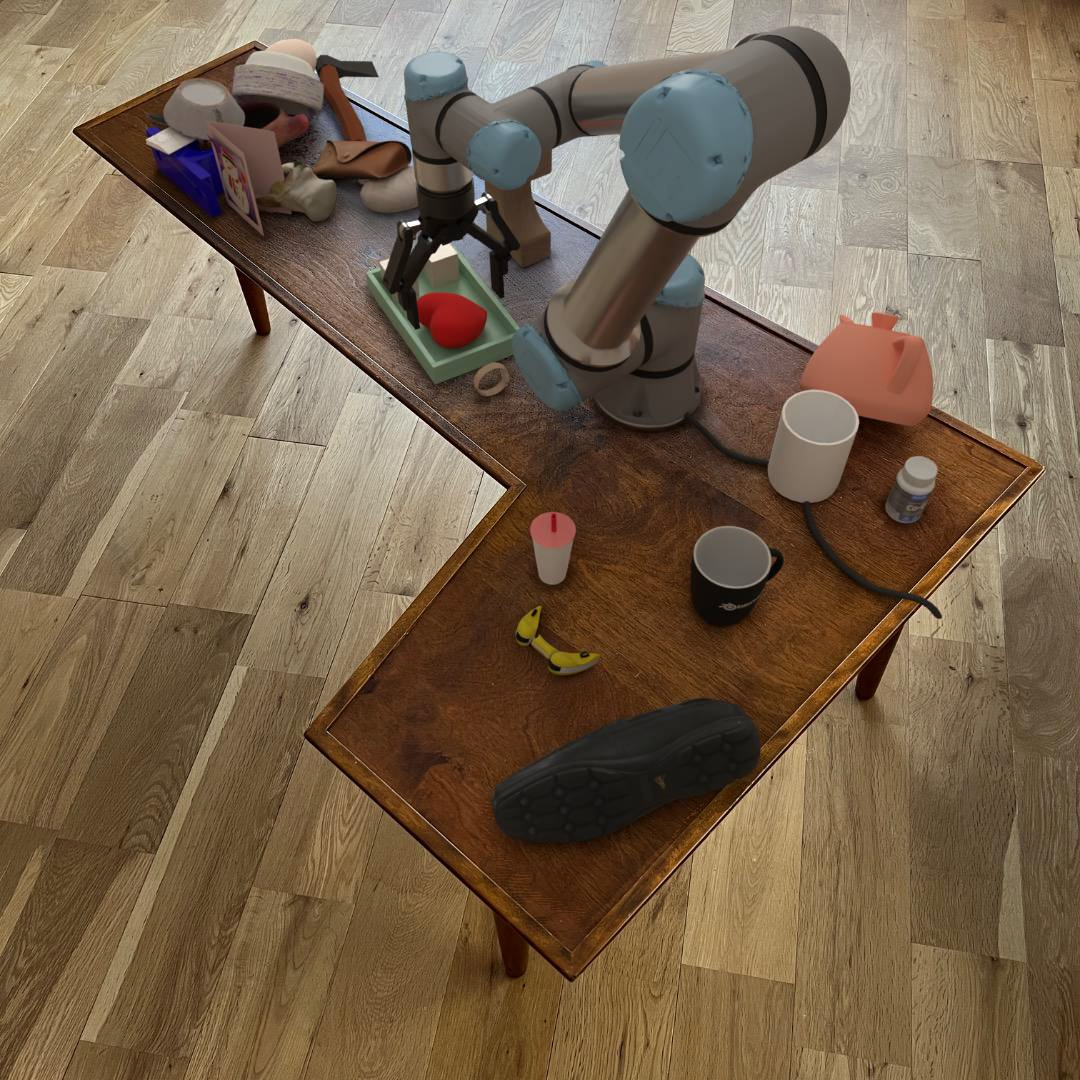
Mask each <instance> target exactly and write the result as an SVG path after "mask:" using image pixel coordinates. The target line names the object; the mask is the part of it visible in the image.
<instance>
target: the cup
mask: <svg viewBox="0 0 1080 1080" xmlns="http://www.w3.org/2000/svg"><path fill="white" fill-rule="evenodd" d="M529 532H530V536H531V538H532V545H533V550H534V556H535V561H536V568H537V575H538V578H539V579H540V581H541V582H543V583H544V584H547V585H553V586H554V585H559V584H560V583H562V582H563V581H564V580H565V578H566V576H567V573H568V567H569V563H570V558H571V552H572V548H573V544H574V543H573V542H574V539H575V536H576V533H577V527H576V524H575V521H574V520H573V519H572V518H570V516H568V515H567V514H564V513H562V512H558V511H548V512H544V513H542V514H539V515H537V517H535V518H534V519H533V520H532V521H531V524H530V527H529Z"/></svg>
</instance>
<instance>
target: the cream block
mask: <svg viewBox="0 0 1080 1080" xmlns="http://www.w3.org/2000/svg"><path fill="white" fill-rule="evenodd" d="M423 275H424V276H425V278H426V279H427V280H428V282H429V283H430V284H431V286H432V287H433V288H434V289H435V288H438V287H441V286H444V285H447V284H450V283H452V282H455V281H458V280H460V278H459V264H458V253H457V252H456V251H455V250H454V248H453V247H452V246H451V245H450V243H449V244H447V245H444V246H443V245H442V244H441V245H440V247H439V248H438V250H437V251H436V253H435V254H432V255H431V257H430V258H429V260H428V262H427V263H426V265H425V266H424V268H423Z"/></svg>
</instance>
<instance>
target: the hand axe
mask: <svg viewBox="0 0 1080 1080" xmlns="http://www.w3.org/2000/svg"><path fill="white" fill-rule="evenodd" d="M316 60H317V62H316V68H315V71H316V74H317V77H318V78H319V81H320V82H321V83H322V84H323V85H324V94H323V99H324V100H325V102H326V103H327V105H328V106H329V108H330V109H331V110H332V112H333V113H334V115H335V117H336V119H337V121H338V123H339V126H340V128H341V131H342V135H343V137H344V140H345V141H367V135H366V133H365V129H364V128H365V127H363V124H362V121H361V120H360V118H359V116H358V114H357V113H356V111H355V109H354V108H353V106H352V104H351V102H350V100H349V98H348V97H347V95H346V92H345V91H344V89H343V87H342V83H341V80H340V79H342V78H379V77H380V76H379V74H378V72H377V69H376V67H375V65H374V62H373V61H372V60H340V59H338V58H335V57H333V56H330V55H329V54H320V55H319V56H318V57H316Z"/></svg>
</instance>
